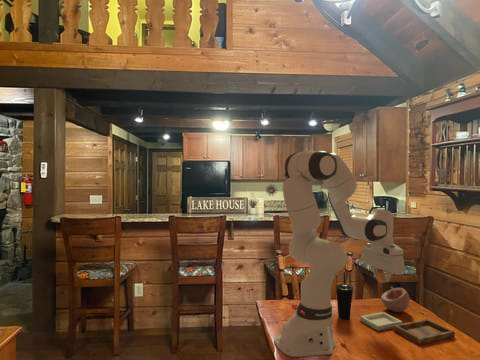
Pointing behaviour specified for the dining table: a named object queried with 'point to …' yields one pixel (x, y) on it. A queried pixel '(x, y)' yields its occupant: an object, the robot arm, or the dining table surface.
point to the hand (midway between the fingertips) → (381, 279)
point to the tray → (380, 321)
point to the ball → (380, 277)
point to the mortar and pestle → (396, 299)
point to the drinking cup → (344, 300)
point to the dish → (424, 331)
